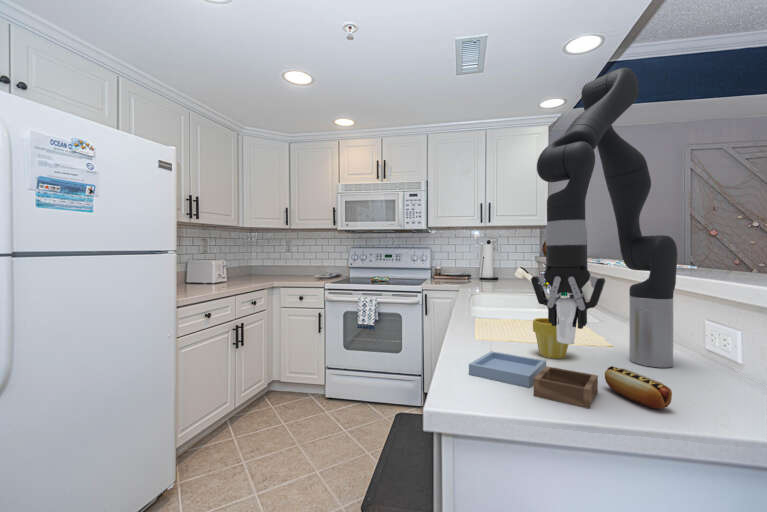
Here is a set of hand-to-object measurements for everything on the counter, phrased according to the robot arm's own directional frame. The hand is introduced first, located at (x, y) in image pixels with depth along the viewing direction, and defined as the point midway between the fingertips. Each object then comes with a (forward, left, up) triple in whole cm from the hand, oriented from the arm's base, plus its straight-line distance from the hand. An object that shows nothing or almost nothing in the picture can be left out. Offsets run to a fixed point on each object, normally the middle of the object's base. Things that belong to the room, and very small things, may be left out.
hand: (567, 326), depth 74 cm
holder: (0, 0, -14) cm, 14 cm away
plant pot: (-28, -9, -14) cm, 33 cm away
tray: (-6, -14, -14) cm, 21 cm away
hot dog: (-5, +11, -14) cm, 19 cm away
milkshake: (0, 0, -3) cm, 3 cm away
